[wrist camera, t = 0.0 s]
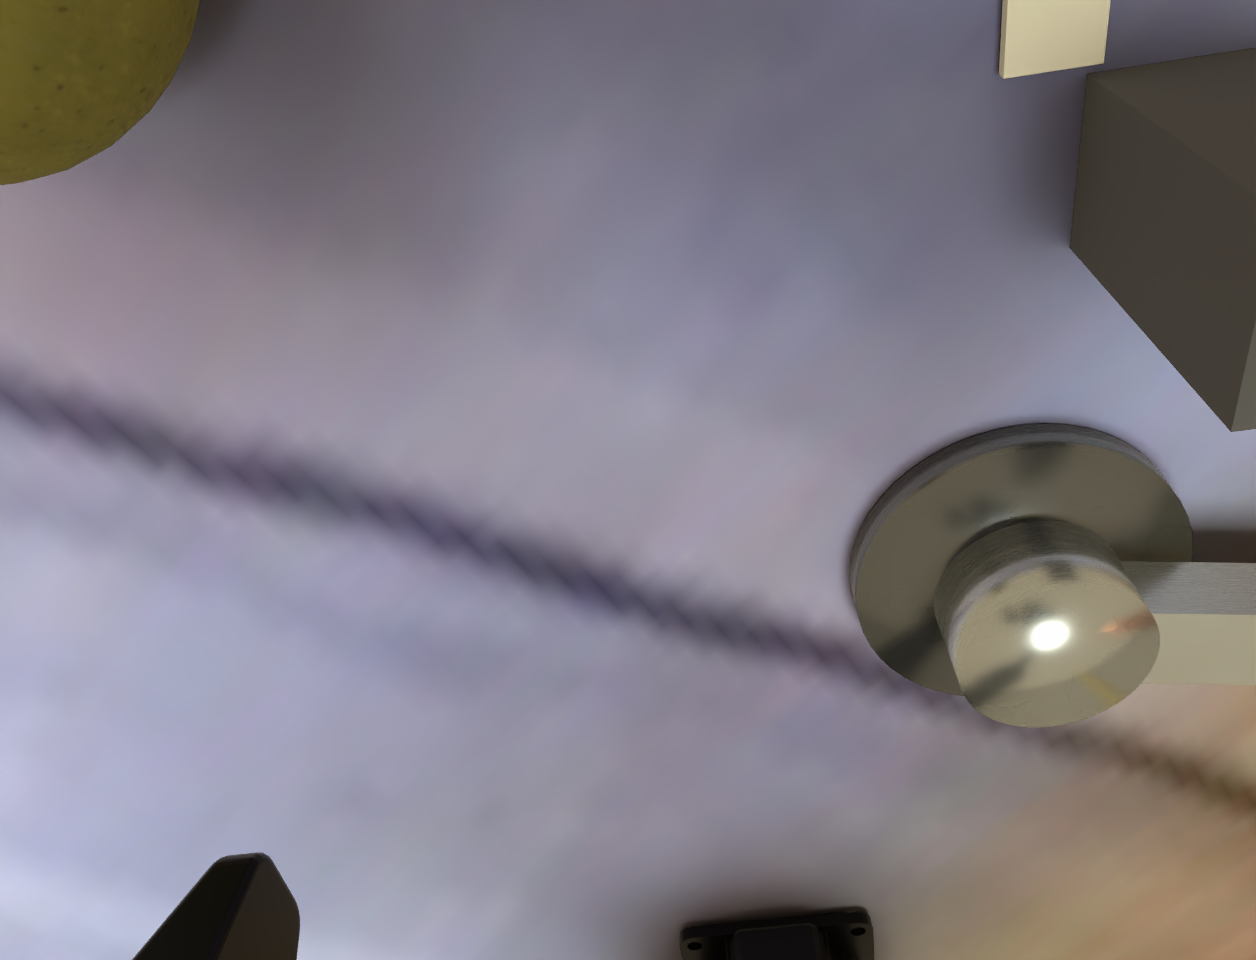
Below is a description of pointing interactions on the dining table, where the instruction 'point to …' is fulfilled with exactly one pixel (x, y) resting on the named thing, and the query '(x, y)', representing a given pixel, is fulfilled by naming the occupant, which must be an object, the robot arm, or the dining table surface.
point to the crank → (1087, 623)
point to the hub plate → (999, 525)
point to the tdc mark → (1051, 35)
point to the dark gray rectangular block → (1177, 214)
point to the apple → (81, 76)
